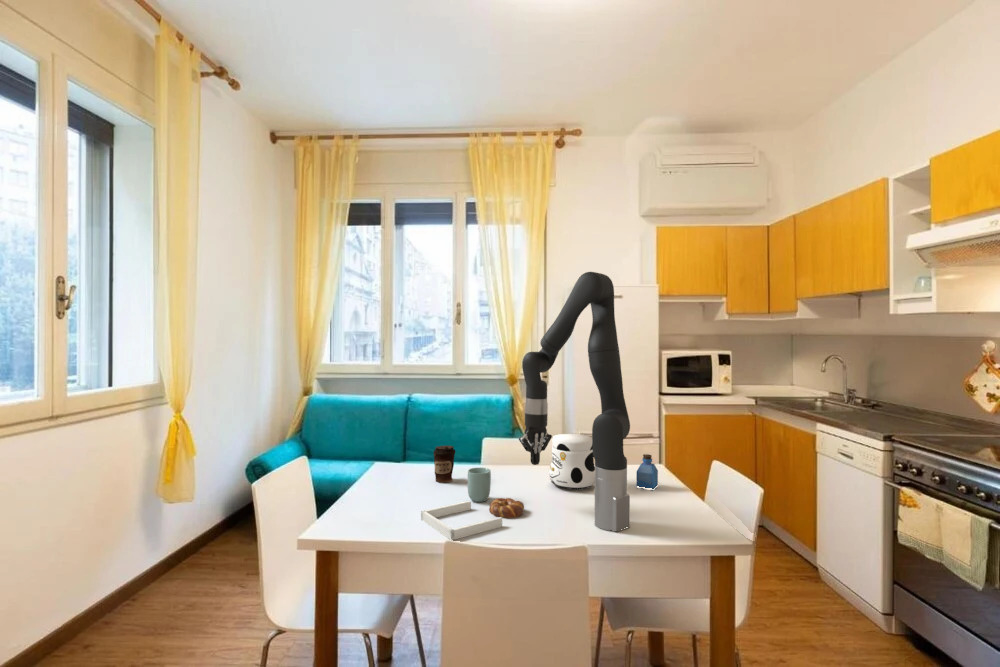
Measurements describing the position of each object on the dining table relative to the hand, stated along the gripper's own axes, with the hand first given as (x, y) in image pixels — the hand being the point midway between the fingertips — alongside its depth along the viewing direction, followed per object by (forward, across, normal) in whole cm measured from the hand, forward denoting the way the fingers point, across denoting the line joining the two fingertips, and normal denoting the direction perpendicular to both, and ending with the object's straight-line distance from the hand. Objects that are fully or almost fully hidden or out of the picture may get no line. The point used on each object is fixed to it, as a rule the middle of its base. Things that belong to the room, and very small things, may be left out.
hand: (535, 464), depth 155 cm
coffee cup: (+14, -12, +40) cm, 44 cm away
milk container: (+14, +25, +8) cm, 30 cm away
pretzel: (+14, -12, 0) cm, 18 cm away
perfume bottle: (+13, +47, -9) cm, 50 cm away
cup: (+14, -13, +14) cm, 23 cm away
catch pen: (+13, -28, 0) cm, 31 cm away
